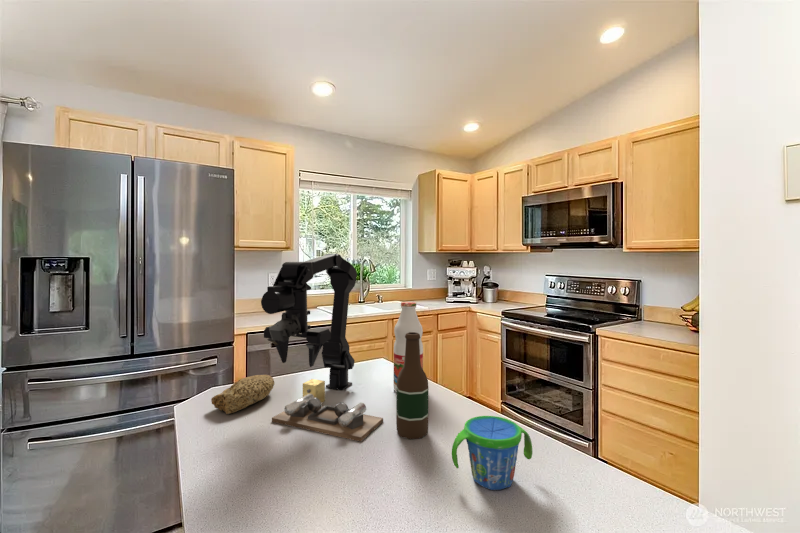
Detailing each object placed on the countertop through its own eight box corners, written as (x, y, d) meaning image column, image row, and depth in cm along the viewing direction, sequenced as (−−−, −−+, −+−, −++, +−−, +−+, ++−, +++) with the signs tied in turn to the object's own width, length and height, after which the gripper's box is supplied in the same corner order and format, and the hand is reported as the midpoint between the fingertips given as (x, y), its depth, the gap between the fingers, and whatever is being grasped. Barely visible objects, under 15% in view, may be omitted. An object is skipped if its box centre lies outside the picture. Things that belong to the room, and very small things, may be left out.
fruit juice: (425, 386, 123) (426, 301, 123) (419, 396, 114) (419, 304, 114) (398, 383, 126) (398, 300, 125) (389, 393, 117) (389, 303, 116)
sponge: (235, 423, 98) (291, 385, 115) (226, 395, 98) (284, 362, 114) (207, 420, 105) (264, 385, 122) (198, 394, 105) (256, 363, 121)
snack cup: (458, 500, 65) (459, 442, 65) (445, 466, 76) (445, 416, 76) (545, 495, 67) (545, 438, 67) (520, 463, 77) (520, 413, 77)
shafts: (306, 404, 103) (306, 391, 103) (366, 415, 96) (366, 401, 96) (284, 416, 95) (284, 402, 95) (347, 430, 88) (347, 414, 88)
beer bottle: (426, 441, 86) (426, 337, 86) (392, 438, 88) (393, 335, 87) (430, 426, 94) (430, 330, 93) (399, 424, 95) (400, 329, 95)
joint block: (312, 398, 112) (312, 378, 112) (325, 400, 111) (325, 380, 111) (302, 404, 108) (301, 383, 108) (315, 407, 106) (315, 386, 106)
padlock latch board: (300, 405, 107) (300, 393, 107) (383, 421, 96) (383, 408, 96) (271, 421, 96) (271, 408, 96) (360, 441, 86) (361, 426, 86)
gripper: (247, 310, 99) (249, 369, 99) (305, 315, 91) (307, 378, 92) (277, 304, 109) (278, 357, 110) (331, 308, 101) (332, 365, 102)
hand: (297, 364), depth 103 cm, fingers open, 9 cm apart
